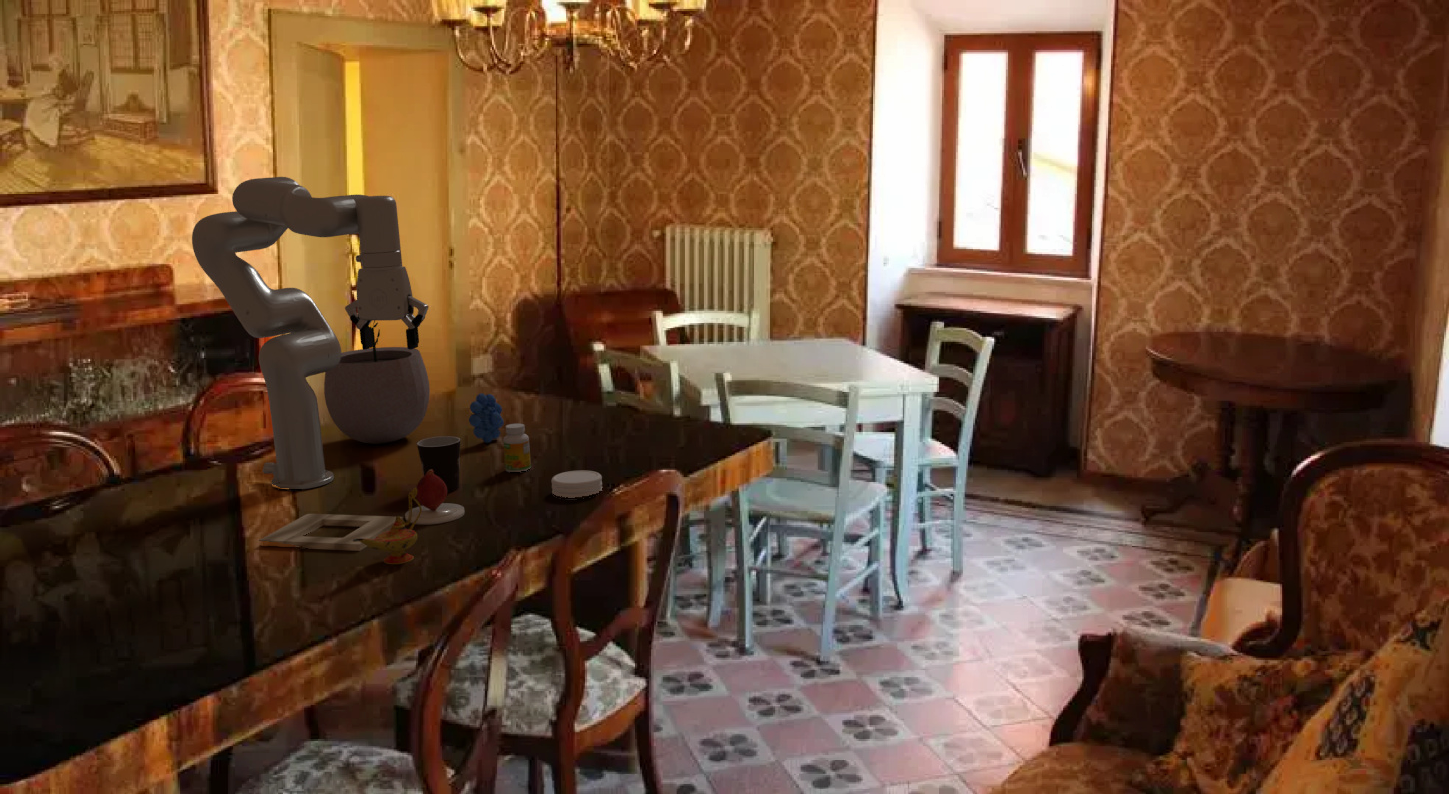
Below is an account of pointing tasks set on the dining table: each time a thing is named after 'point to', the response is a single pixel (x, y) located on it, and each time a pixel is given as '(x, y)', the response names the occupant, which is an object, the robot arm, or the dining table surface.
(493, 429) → the grapes
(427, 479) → the onion
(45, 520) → the dining table surface
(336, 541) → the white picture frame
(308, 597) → the dining table surface
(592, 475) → the white round container
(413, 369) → the plant pot
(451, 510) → the saucer
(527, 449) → the supplement bottle
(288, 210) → the robot arm
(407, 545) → the magic lamp
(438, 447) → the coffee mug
